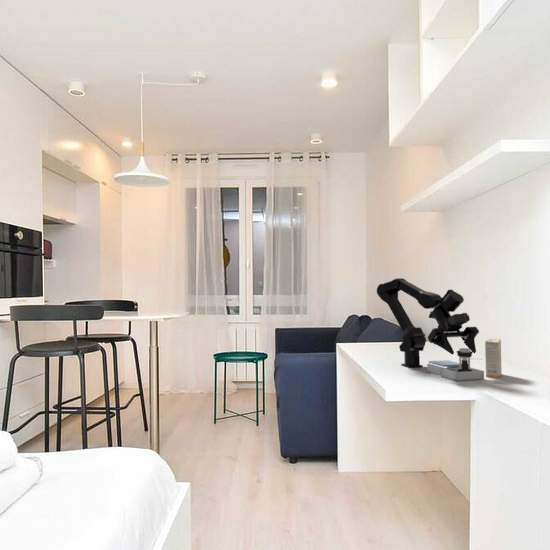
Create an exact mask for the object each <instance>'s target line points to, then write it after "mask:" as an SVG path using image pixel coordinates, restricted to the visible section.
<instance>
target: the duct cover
mask: <svg viewBox="0 0 550 550" xmlns="http://www.w3.org/2000/svg"><path fill="white" fill-rule="evenodd" d="M428 364H432V365H436V366H439V367H443V368H447V367H450V366H459V362H456V361H452V360H428ZM461 365H462V364H461Z"/></svg>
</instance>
